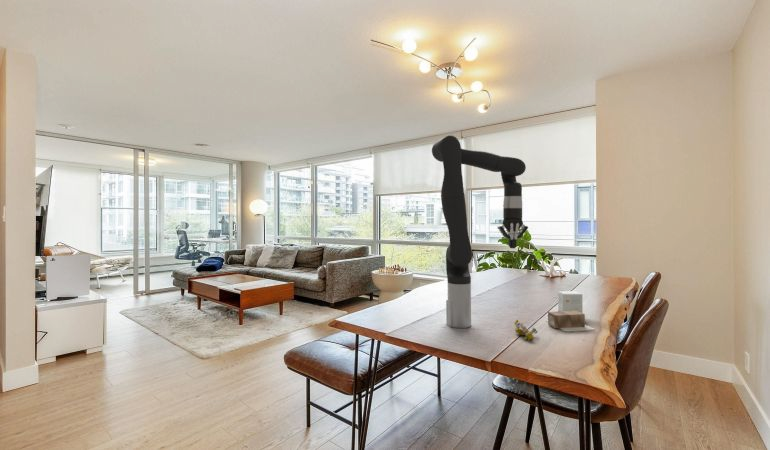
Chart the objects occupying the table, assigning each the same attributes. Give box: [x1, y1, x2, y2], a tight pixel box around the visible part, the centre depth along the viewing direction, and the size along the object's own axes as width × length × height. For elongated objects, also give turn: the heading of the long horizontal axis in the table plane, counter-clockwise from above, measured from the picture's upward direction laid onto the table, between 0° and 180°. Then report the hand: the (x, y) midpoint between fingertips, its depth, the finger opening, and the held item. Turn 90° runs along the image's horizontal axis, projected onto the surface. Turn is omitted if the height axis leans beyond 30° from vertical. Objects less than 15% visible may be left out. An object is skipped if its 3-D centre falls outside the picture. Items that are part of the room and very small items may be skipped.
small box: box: [557, 290, 584, 314], centre depth 151 cm, size 8×6×10 cm
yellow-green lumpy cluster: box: [514, 319, 538, 342], centre depth 130 cm, size 5×5×15 cm
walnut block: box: [547, 311, 586, 329], centre depth 139 cm, size 5×5×12 cm
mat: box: [545, 319, 596, 332], centre depth 140 cm, size 12×13×1 cm
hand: (512, 248), depth 150 cm, fingers closed
